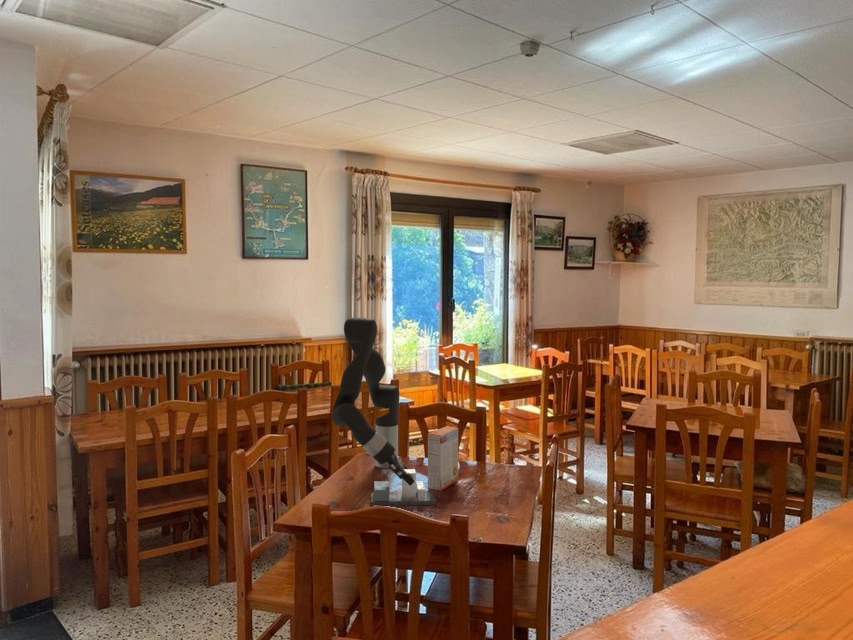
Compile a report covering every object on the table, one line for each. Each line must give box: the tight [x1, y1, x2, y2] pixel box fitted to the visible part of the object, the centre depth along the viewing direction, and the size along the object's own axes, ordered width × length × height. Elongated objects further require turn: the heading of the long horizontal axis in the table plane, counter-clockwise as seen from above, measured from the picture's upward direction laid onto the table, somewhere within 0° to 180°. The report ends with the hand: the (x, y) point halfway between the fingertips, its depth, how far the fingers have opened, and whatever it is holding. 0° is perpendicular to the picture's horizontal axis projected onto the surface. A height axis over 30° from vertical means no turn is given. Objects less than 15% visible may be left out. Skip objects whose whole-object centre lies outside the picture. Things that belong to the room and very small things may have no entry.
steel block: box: [401, 468, 417, 499], centre depth 219 cm, size 4×4×9 cm
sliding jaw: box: [373, 480, 390, 501], centre depth 218 cm, size 9×5×4 cm, turn 6°
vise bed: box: [370, 480, 437, 507], centre depth 219 cm, size 9×22×6 cm, turn 96°
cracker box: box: [427, 425, 459, 492], centre depth 236 cm, size 14×6×21 cm, turn 149°
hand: (411, 479), depth 219 cm, fingers open, 8 cm apart
